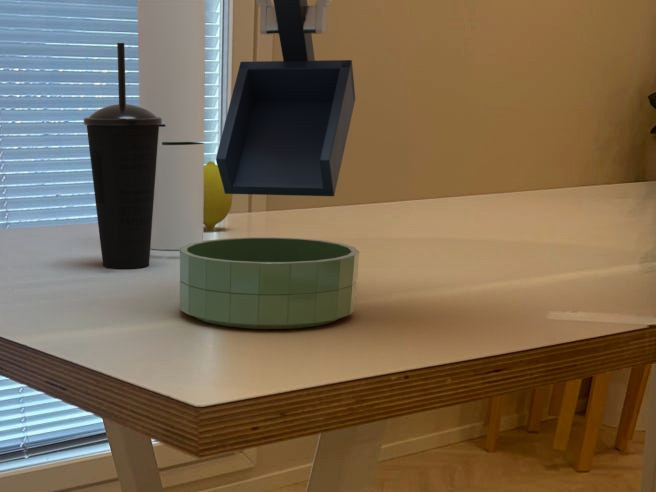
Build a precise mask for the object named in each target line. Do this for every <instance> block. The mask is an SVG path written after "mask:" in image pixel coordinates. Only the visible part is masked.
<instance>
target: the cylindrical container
mask: <svg viewBox="0 0 656 492" xmlns="http://www.w3.org/2000/svg"><path fill="white" fill-rule="evenodd" d="M137 46H138V47H137V50H138V51H137V55H138V58H137V59H138V102H139V103H138V104H139V105H138V107H141V108H144V109H146V110H148V111H149V112H151V113H152V114H154V115H155V116H156V117H160V118H161V119H162V124H160V125H159V132H158V146H157V161H156V175H155V189H154V203H153V217H152V231H151V245H150V250H160V251H180V248H181V247H183V246H185V245H188V244H190V243H195V242H201V241H204V224H203V205H204V165H205V142H204V141H205V99H206V98H205V96H206V95H205V92H206V91H205V90H206V89H205V88H206V87H205V86H206V85H205V83H206V0H137Z"/></svg>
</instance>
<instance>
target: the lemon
mask: <svg viewBox="0 0 656 492" xmlns="http://www.w3.org/2000/svg"><path fill="white" fill-rule="evenodd" d="M232 204H233V194H225V192H224V188H223V184H222V180H221V177H220V173H219V169H218V165H217V163H215V162H214V161H212V160H209V161H208V162H207V163H206V164H204V205H203V226H204V227H205V228H206V229H207V230H211V231H212V230H213V229H214V228H215V227H216V225H218V224H219V223H221V222H223V221H224V220H225V219H226V218H227V216H228V215H229V213H230V210H231V209H232Z"/></svg>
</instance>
